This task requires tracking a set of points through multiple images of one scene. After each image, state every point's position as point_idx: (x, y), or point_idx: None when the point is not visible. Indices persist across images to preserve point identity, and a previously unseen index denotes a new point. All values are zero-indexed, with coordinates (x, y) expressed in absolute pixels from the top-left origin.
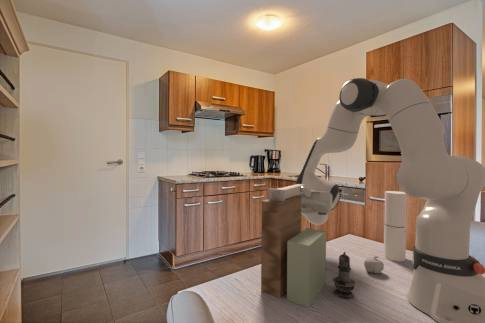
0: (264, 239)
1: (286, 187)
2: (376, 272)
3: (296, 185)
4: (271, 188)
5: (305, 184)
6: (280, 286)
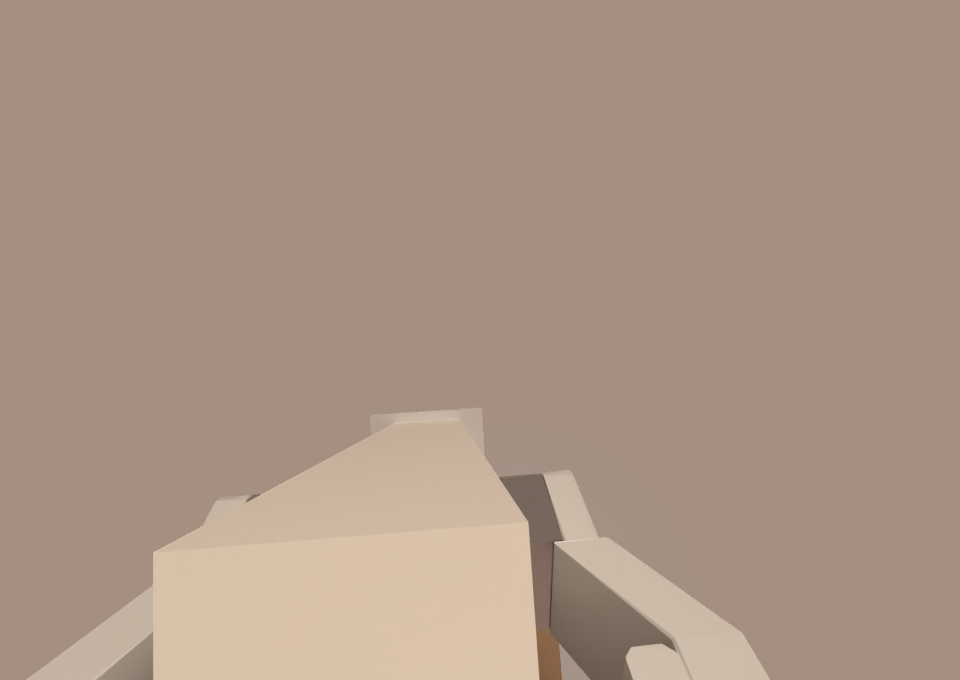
0: None
1: (438, 431)
2: None
3: (400, 462)
4: (470, 408)
5: (154, 552)
6: None
